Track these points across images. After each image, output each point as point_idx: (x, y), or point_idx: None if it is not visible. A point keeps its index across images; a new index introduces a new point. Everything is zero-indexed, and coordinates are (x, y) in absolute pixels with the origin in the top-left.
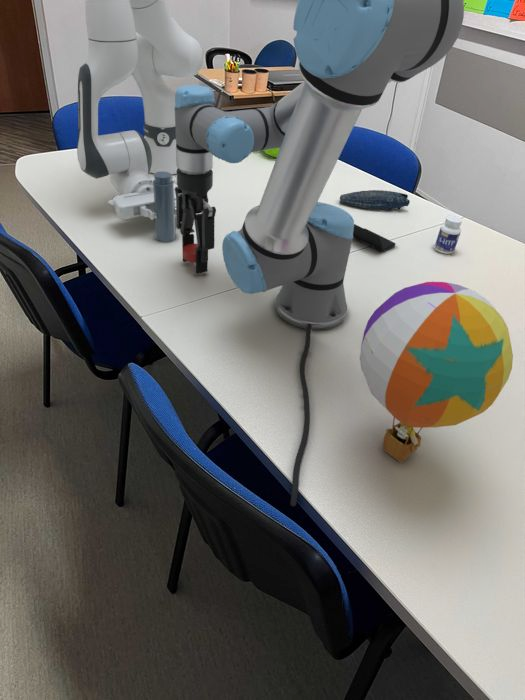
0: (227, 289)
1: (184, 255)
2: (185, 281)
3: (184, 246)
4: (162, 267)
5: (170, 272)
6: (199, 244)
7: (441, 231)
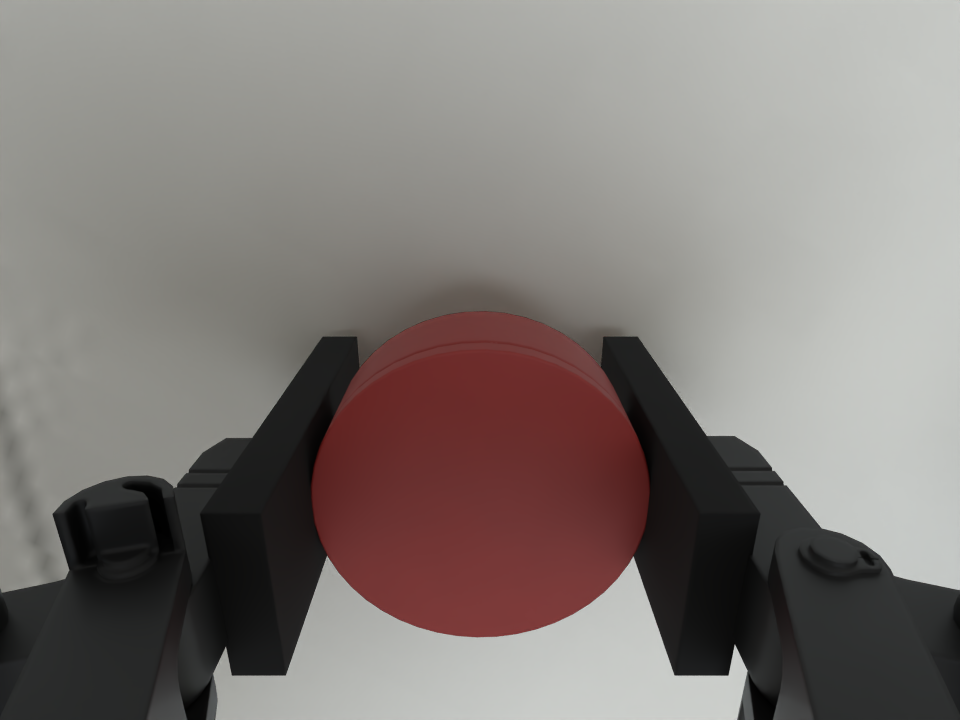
0: (30, 449)
1: (480, 329)
2: (304, 178)
3: (622, 425)
4: (691, 94)
5: (547, 123)
6: (90, 607)
7: None
